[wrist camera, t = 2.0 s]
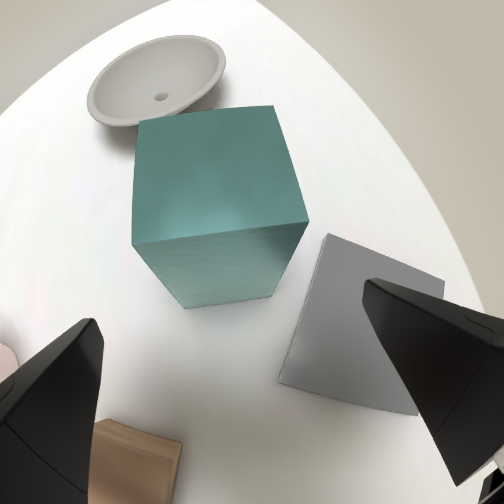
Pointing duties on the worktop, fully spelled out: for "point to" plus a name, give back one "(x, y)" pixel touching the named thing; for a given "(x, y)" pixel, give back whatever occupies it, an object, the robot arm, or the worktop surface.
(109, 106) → the dish
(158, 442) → the walnut box
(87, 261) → the worktop surface
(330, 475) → the worktop surface
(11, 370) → the smoothie
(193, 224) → the tall teal box
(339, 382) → the plate
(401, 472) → the worktop surface
